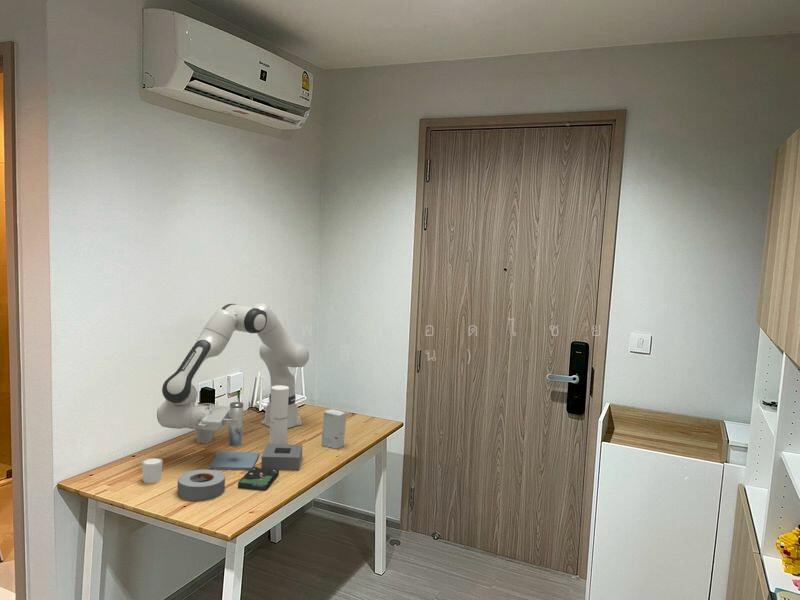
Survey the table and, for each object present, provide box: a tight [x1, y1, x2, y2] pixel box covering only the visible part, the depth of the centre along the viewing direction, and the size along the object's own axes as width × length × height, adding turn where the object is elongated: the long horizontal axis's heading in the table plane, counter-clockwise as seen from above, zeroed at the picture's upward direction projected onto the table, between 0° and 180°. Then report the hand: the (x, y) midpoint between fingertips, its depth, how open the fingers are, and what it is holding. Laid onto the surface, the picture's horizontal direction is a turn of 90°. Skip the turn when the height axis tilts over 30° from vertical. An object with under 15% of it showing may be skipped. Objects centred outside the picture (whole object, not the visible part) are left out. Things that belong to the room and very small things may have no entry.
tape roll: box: [176, 468, 226, 502], centre depth 203 cm, size 15×15×5 cm
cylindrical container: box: [268, 385, 289, 444], centre depth 249 cm, size 7×7×25 cm
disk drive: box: [237, 466, 280, 492], centre depth 214 cm, size 10×3×15 cm
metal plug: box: [228, 401, 244, 448], centre depth 229 cm, size 5×5×16 cm
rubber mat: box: [208, 451, 260, 471], centre depth 231 cm, size 16×16×1 cm
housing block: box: [260, 443, 303, 471], centre depth 232 cm, size 14×14×5 cm
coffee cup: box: [195, 402, 215, 444], centre depth 251 cm, size 10×10×15 cm
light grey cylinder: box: [141, 457, 164, 484], centre depth 209 cm, size 7×7×7 cm
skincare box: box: [320, 409, 347, 450], centre depth 254 cm, size 8×6×15 cm
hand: (238, 418), depth 229 cm, fingers closed on metal plug, 5 cm apart
